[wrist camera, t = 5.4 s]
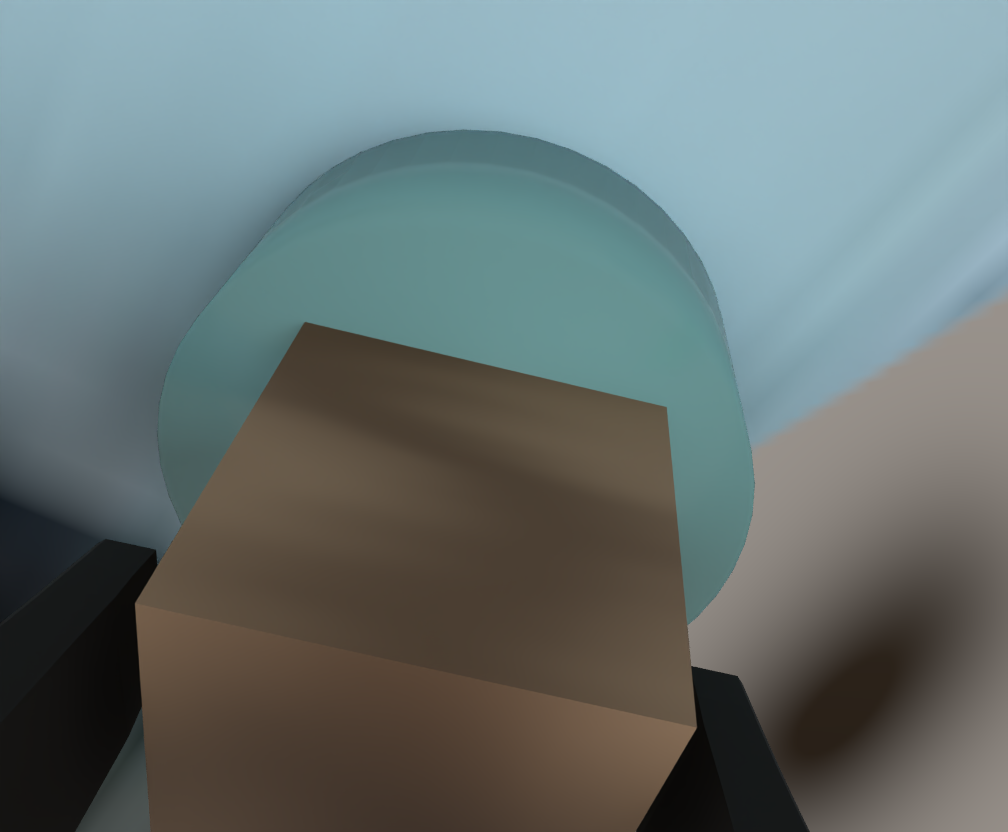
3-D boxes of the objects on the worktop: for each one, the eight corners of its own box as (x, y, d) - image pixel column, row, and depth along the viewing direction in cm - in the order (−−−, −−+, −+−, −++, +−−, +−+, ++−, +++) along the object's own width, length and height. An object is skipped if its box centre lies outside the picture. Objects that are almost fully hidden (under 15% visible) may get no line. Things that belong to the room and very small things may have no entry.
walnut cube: (283, 574, 14) (154, 877, 10) (304, 321, 11) (134, 603, 7) (572, 639, 14) (558, 962, 10) (666, 406, 12) (696, 726, 8)
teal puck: (240, 484, 19) (162, 626, 15) (261, 63, 13) (148, 144, 10) (636, 577, 19) (641, 735, 16) (807, 204, 14) (868, 324, 11)
